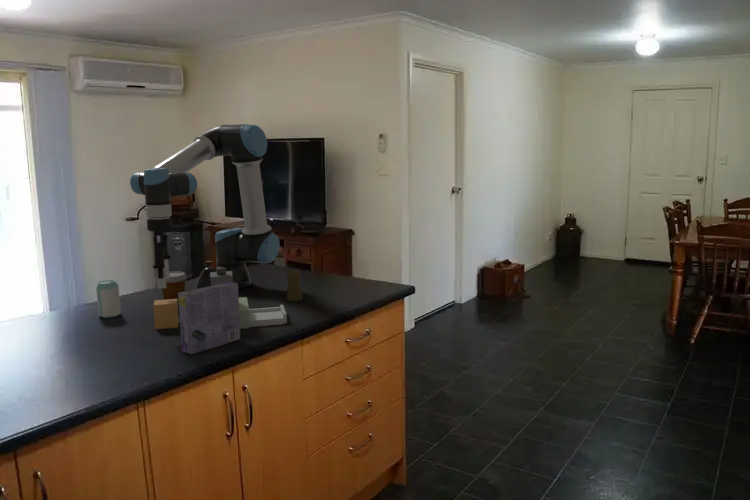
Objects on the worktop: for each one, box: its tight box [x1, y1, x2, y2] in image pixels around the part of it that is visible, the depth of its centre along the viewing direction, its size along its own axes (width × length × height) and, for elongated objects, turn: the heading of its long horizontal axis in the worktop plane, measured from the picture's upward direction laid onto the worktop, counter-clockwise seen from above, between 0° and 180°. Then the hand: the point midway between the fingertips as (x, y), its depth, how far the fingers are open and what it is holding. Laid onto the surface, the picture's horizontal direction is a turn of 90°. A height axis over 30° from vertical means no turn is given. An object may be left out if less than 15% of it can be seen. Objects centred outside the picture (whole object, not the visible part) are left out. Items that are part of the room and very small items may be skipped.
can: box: [95, 279, 122, 319], centre depth 217 cm, size 7×7×12 cm
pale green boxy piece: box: [210, 267, 288, 330], centre depth 209 cm, size 16×26×18 cm, turn 104°
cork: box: [286, 269, 304, 302], centre depth 236 cm, size 6×6×11 cm
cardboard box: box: [152, 299, 180, 330], centre depth 206 cm, size 6×7×8 cm
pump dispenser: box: [196, 266, 216, 289], centre depth 224 cm, size 10×10×15 cm
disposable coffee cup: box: [161, 271, 187, 309], centre depth 228 cm, size 10×10×12 cm
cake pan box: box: [178, 282, 241, 356], centre depth 186 cm, size 19×5×18 cm, turn 141°
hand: (163, 283), depth 204 cm, fingers open, 13 cm apart
